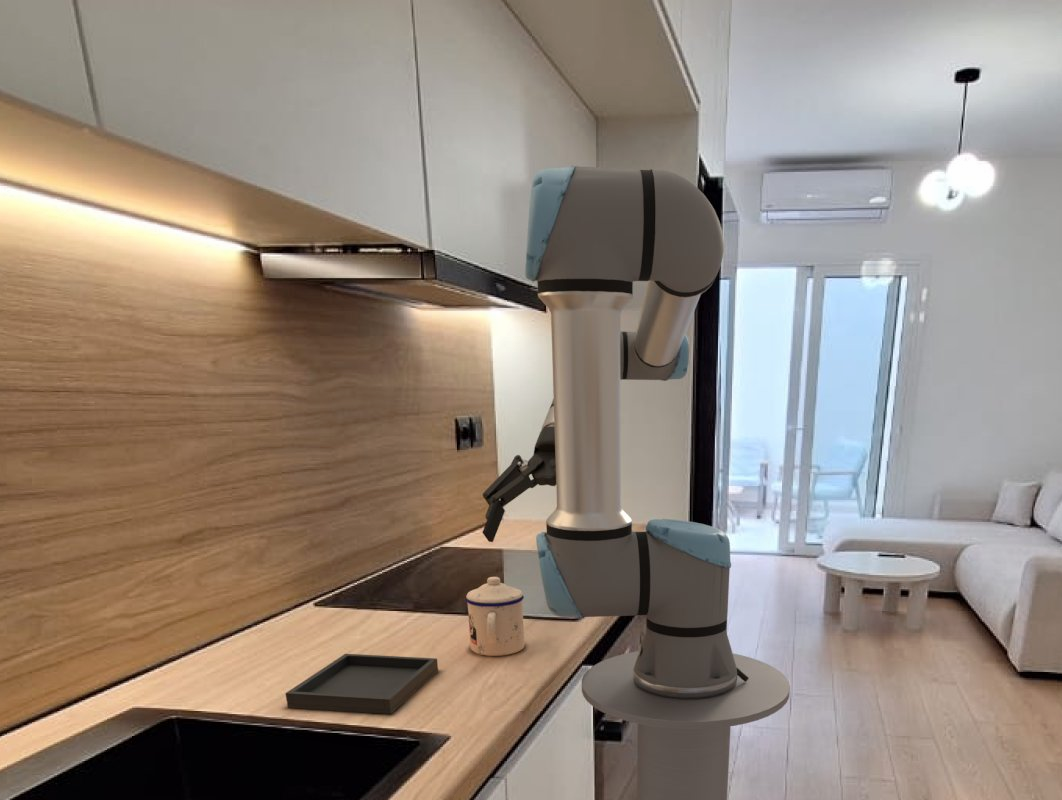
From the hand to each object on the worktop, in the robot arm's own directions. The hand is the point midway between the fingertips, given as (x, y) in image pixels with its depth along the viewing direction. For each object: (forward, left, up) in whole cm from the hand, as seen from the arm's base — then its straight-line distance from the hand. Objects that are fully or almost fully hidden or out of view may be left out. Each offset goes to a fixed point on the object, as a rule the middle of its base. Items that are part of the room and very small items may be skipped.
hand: (523, 540), depth 133 cm
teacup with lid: (+2, +10, -16) cm, 19 cm away
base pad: (+15, +29, -16) cm, 37 cm away
